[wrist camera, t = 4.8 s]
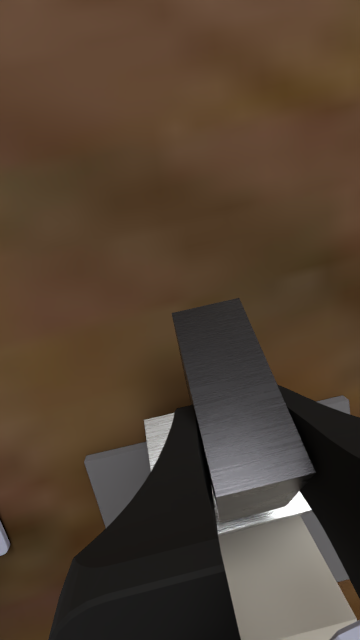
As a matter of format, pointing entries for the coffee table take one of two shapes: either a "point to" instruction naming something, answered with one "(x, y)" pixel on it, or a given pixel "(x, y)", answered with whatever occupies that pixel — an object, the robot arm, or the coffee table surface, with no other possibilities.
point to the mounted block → (237, 420)
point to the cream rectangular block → (282, 584)
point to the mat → (134, 467)
